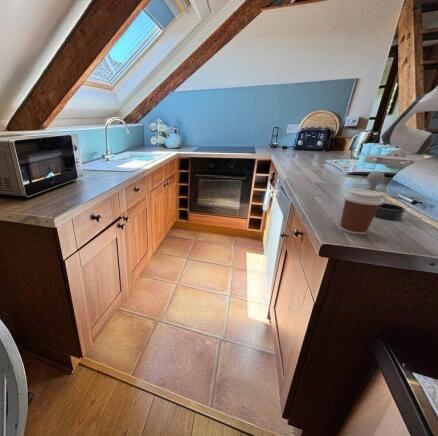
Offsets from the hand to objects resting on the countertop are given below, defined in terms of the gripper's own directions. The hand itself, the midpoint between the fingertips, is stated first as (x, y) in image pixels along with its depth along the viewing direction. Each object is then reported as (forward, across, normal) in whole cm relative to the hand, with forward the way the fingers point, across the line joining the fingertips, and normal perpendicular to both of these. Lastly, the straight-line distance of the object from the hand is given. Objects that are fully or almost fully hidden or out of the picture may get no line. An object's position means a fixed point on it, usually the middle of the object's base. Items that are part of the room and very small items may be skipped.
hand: (387, 162), depth 110 cm
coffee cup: (+63, +9, +12) cm, 65 cm away
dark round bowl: (+41, +12, +12) cm, 45 cm away
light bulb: (+12, 0, +12) cm, 17 cm away
